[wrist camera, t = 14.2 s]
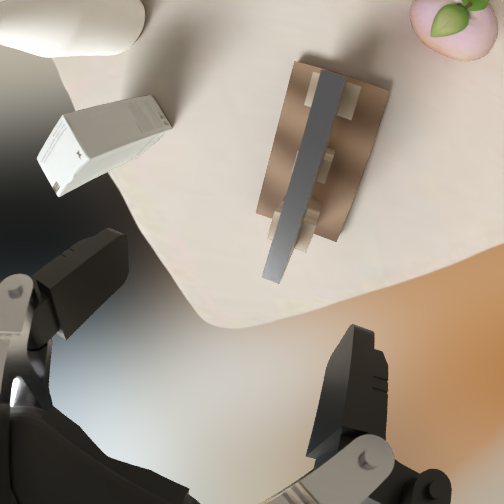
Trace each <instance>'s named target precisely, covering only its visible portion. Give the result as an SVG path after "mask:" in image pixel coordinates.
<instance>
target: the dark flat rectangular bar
mask: <svg viewBox="0 0 504 504" xmlns="http://www.w3.org/2000/svg"><path fill="white" fill-rule="evenodd" d="M345 86H346V78H345V76H342V75H339V74H336V73H333V72H329V71H326V70H322V69H321V72H320V76H319V80H318V83H317V87H316V91H315V94H314V98H313V102H312V105H311V109H310V112H309V116H308V120H307V123H306V127H305V130H304V134H303V137H302V141H301V145H300V148H299V152H298V155H297V159H296V162H295V166H294V169H293V173H292V176H291V180H290V183H289V186H288V190H287V193H286V197H285V200H284V204H283V207H282V211H281V214H280V217H279V221H278V224H277V227H276V231H275V234H274V238H273V241H272V244H271V248H270V251H269V254H268V258H267V261H266V264H265V268H264V271H263V274H262V277H263V278H265V279H268V280H271V281H273V282H276V283H278V284H279V283H280V281H281V279H282V276H283V274H284V272H285V269H286V267H287V265H288V262H289V260H290V257H291V255H292V252H293V250H294V247H295V245H296V242H297V239H298V236H299V233H300V230H301V227H302V224H303V221H304V218H305V215H306V212H307V209H308V206H309V203H310V200H311V197H312V194H313V191H314V188H315V185H316V182H317V178H318V175H319V172H320V169H321V166H322V163H323V159H324V156H325V153H326V150H327V147H328V143H329V140H330V137H331V133H332V130H333V127H334V124H335V120H336V117H337V113H338V110H339V107H340V103H341V100H342V96H343V93H344V89H345Z"/></svg>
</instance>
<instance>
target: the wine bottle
mask: <svg viewBox="0 0 504 504" xmlns="http://www.w3.org/2000/svg"><path fill="white" fill-rule="evenodd" d="M144 22H145V10H144V6H143V4H142V3H141V1H140V0H4V1H2V2H0V44H1V45H4V46H8V47H11V48H15V49H19V50H22V51H25V52H28V53H31V54H34V55H38V56H42V57H63V56H87V55H115V54H118V53H121V52H123V51H125V50H126V49H128V48H129V47H130V46H131V45H132V44H133V43H134V42H135V41H136V40H137V38H138V37H139V35H140V33H141V31H142V29H143V26H144Z"/></svg>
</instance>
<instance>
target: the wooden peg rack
mask: <svg viewBox="0 0 504 504" xmlns="http://www.w3.org/2000/svg"><path fill="white" fill-rule="evenodd" d="M321 69H322V68H319V67H315V66H311V65H307V64H304V63H300V62H295V61H294V65H293V69H292V73H291V77H290V81H289V85H288V88H287V92H286V96H285V100H284V104H283V108H282V112H281V116H280V119H279V123H278V127H277V131H276V135H275V139H274V143H273V147H272V151H271V155H270V158H269V162H268V166H267V170H266V174H265V178H264V182H263V186H262V190H261V194H260V198H259V202H258V206H257V210H256V213H257V214H260V215H263V216H266V217H269V218H272V222H271V226H270V229H269V233H268V236H267V239H270V240H273V238H274V234H275V231H276V227H277V224H278V221H279V217H280V214H281V211H282V207H283V204H284V200H285V197H286V193H287V190H288V186H289V183H290V180H291V176H292V173H293V169H294V166H295V162H296V159H297V155H298V152H299V148H300V145H301V141H302V137H303V134H304V130H305V127H306V123H307V120H308V116H309V112H310V109H311V105H312V102H313V98H314V94H315V91H316V87H317V83H318V80H319V76H320V72H321ZM322 70H326V69H322ZM326 71H329V70H326ZM329 72H333V71H329ZM333 73H336V72H333ZM336 74H339V73H336ZM339 75H342V74H339ZM342 76H345V75H342ZM345 78H346V86H345V89H344V93H343V96H342V100H341V103H340V107H339V110H338V113H337V117H336V120H335V124H334V127H333V130H332V133H331V137H330V140H329V143H328V147H327V150H326V153H325V156H324V159H323V163H322V166H321V169H320V172H319V175H318V178H317V182H316V185H315V188H314V191H313V194H312V197H311V200H310V203H309V206H308V209H307V212H306V215H305V218H304V221H303V224H302V227H301V230H300V233H299V236H298V239H297V242H296V245H295V247H294V248H295V249H297V250H300V251H303V252H305V253H306V252H307V249H308V246H309V244H310V241H311V238H312V236H313V234H316V235H319V236H322V237H324V238H327V239H330V240H332V241H335V242H337V239H338V237H339V235H340V232H341V230H342V227H343V225H344V222H345V220H346V217H347V215H348V212H349V209H350V207H351V204H352V202H353V199H354V196H355V194H356V191H357V188H358V186H359V183H360V180H361V178H362V175H363V172H364V169H365V166H366V164H367V161H368V158H369V155H370V152H371V149H372V146H373V143H374V140H375V137H376V134H377V131H378V128H379V125H380V122H381V119H382V116H383V113H384V109H385V106H386V103H387V100H388V96H389V93H390V91H387V90H385V89H382V88H380V87H377V86H374V85H371V84H369V83H366V82H363V81H360V80H357V79H354V78H351V77H348V76H345Z"/></svg>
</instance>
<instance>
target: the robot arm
mask: <svg viewBox="0 0 504 504" xmlns="http://www.w3.org/2000/svg"><path fill="white" fill-rule="evenodd" d="M128 273H129V259H128V238H127V236H126V235H124V234H122V233H120V232H117V231H115V230H112V229H110V228H107V229H105V230H103V231H102V232H100V233H99V234H97V235H96V236H92V237H89V238H86V239H84V240H81V241H79V242H78V243H76V244H75V245H73V246H72V247H70V249H69V250H68V249H67V250H66V251H65V252H63V253H62V255H61V256H60V255H59V256H58V257H56V258H55V259H54V260H52V261H51V262H49V264H47V265H46V266H44V267H43V268H41V269H40V270H39V271H37V272H36V273H35V274H34V275H32V276H31V277H29V276H27V275H24V274H15V275H12V276H9V277H7V278H6V279H4V280H2V279H0V504H200V503H199V502H198V501H197V500H196V499H194V498H193V497H192V496H190V495H189V494H188V493H189V488H187V487H184V486H182V485H180V484H178V483H176V482H173V481H171V480H169V479H167V478H165V477H163V476H161V475H159V474H157V473H155V472H153V471H151V470H148V469H145V468H141V467H138V466H134V465H131V464H128V463H125V462H121V461H118V460H115V459H112V458H110V457H108V456H106V455H105V454H104V453H103V452H102V451H101V450H100V449H99V448H98V447H97V446H96V444H95V443H94V442H93V441H92V440H91V439H90V438H89V437H88V436H87V434H86V433H85V432H84V431H83V430H82V429H81V428H80V426H78V425H77V424H76V423H74V422H73V421H72V420H70V419H69V418H67V417H66V416H65V415H64V414H62V413H61V412H60V411H59V410H57V409H56V408H55V407H54V406H53V404H52V399H51V395H50V391H49V376H50V363H51V354H52V345H53V341H52V337H53V336H54V334H56V333H57V334H58V335H59V336H61V337H62V338H63V339H65V340H67V339H68V338H69V337H70V336H71V335H72V334H73V333H74V332H75V331H76V330H77V329H78V328H79V327H80V326H81V325H82V324H83V323H84V322H85V321H86V320H87V319H88V318H89V317H90V316H91V315H92V314H93V313H94V312H95V311H96V310H97V309H98V308H99V307H100V306H101V305H102V304H103V303H104V302H105V301H106V300H107V299H108V298H109V297H111V295H113V294H114V293H115V292H116V291H117V290H118V289H119V288H120V287H121V286H122V285H123V284H124V283H125V281H126V279H127V276H128ZM387 381H388V364H387V362H386V359H385V357H384V354H383V352H382V351H379V350H375V349H374V332H373V331H371V330H368V329H365V328H362V327H359V326H357V325H353V324H352V325H351V326H350V327H349V328H348V330H347V331H346V333H345V335H344V336H343V338H342V339H341V341H340V343H339V344H338V346H337V347H336V349H335V350H334V352H333V353H332V355H331V357H330V360H329V362H328V364H327V367H326V372H325V376H324V381H323V386H322V391H321V395H320V400H319V405H318V409H317V413H316V418H315V422H314V426H313V430H312V434H311V438H310V442H309V446H308V449H307V454H306V456H307V457H310V458H314V459H316V461H315V465H314V469H313V470H311V471H310V472H308V473H307V474H305V475H304V476H303V477H301V478H300V479H298V480H297V481H295V482H294V483H292V484H291V485H289V486H288V487H286V488H285V489H283V490H281V491H280V492H278V493H276V494H275V495H273V496H271V497H270V498H268V499H266V500H265V501H263V502H261V503H260V504H450V502H451V491H452V488H451V483H450V480H449V478H448V477H447V475H445V474H444V473H443V472H442V471H440V470H438V469H429V470H426V471H424V472H422V473H420V474H419V473H417V472H415V471H414V470H412V469H410V468H408V467H406V466H404V465H402V464H401V463H399V462H398V461H396V460H395V459H394V453H393V450H392V448H391V447H390V445H389V444H388V443H387V442H386V422H387V401H388V400H387V399H388V394H387V392H388V382H387Z"/></svg>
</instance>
